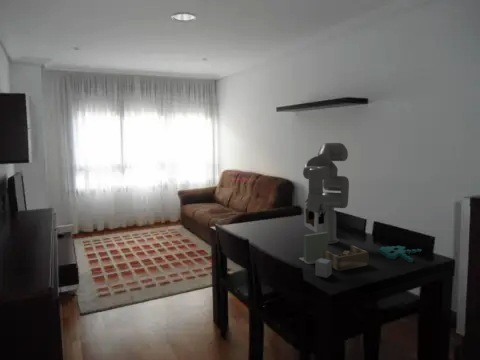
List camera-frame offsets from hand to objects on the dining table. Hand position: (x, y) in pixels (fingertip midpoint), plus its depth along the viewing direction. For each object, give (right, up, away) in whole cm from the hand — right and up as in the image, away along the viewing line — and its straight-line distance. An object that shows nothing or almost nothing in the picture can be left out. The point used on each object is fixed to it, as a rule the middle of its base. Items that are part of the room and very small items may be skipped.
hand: (316, 221), depth 202 cm
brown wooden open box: (+14, -22, -6) cm, 27 cm away
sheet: (0, -21, +2) cm, 21 cm away
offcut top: (+15, -18, -5) cm, 24 cm away
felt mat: (0, -21, +2) cm, 21 cm away
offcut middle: (+15, -20, -6) cm, 26 cm away
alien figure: (+48, -20, +7) cm, 52 cm away
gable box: (+15, -13, +66) cm, 69 cm away
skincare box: (0, -24, -20) cm, 32 cm away
